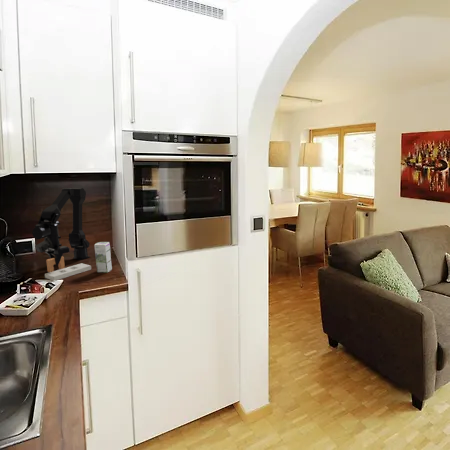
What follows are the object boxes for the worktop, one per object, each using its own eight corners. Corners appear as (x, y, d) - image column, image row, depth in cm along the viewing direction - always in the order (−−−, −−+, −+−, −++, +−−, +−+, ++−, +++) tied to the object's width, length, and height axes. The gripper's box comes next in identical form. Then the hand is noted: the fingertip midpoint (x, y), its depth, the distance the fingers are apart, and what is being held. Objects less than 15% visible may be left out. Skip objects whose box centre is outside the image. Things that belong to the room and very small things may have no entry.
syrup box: (112, 269, 189) (110, 241, 186) (107, 272, 183) (105, 244, 180) (101, 269, 190) (99, 241, 187) (96, 272, 184) (93, 244, 181)
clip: (62, 267, 194) (61, 256, 192) (64, 268, 192) (63, 256, 191) (47, 271, 187) (46, 259, 186) (50, 272, 186) (48, 260, 185)
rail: (81, 266, 194) (81, 263, 194) (91, 269, 189) (90, 265, 189) (45, 277, 178) (44, 273, 177) (54, 280, 173) (53, 276, 173)
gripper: (26, 235, 185) (30, 265, 188) (47, 240, 174) (51, 272, 178) (48, 231, 194) (51, 260, 197) (68, 235, 183) (72, 265, 186)
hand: (55, 264), depth 189 cm, fingers closed on clip, 2 cm apart
